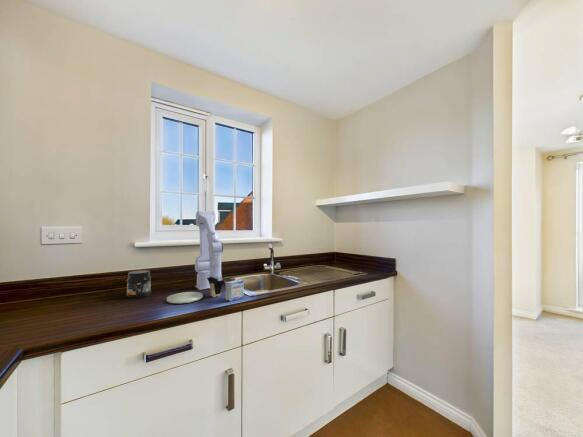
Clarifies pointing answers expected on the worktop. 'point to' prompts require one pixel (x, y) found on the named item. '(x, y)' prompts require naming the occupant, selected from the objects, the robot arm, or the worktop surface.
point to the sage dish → (184, 297)
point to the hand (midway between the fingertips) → (215, 292)
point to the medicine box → (234, 290)
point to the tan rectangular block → (213, 291)
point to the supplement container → (138, 284)
